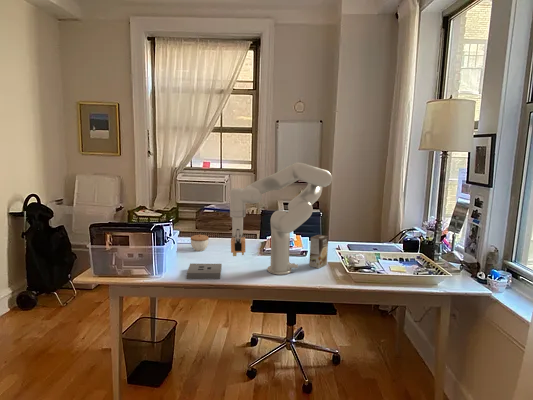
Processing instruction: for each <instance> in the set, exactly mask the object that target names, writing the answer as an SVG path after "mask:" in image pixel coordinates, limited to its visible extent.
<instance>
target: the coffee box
mask: <svg viewBox="0 0 533 400" xmlns="http://www.w3.org/2000/svg"><path fill="white" fill-rule="evenodd" d="M328 247H329V235H323V234H317V235H313V236H311V237H310V247H309V267H311V268H314V269H315V268H317V269H320V268H322V267H325V266H327V264H328V252H329V251H328V250H329V248H328Z"/></svg>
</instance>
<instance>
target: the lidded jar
mask: <svg viewBox="0 0 533 400" xmlns="http://www.w3.org/2000/svg"><path fill="white" fill-rule="evenodd" d="M190 244H191V245H190V246H191V247H192V249H194V251H196V252H202V251H205V250H206V249H207V247H208V245H209V236H208V235H205V234H195V235H191V236H190Z"/></svg>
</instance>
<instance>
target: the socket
mask: <svg viewBox="0 0 533 400" xmlns="http://www.w3.org/2000/svg"><path fill="white" fill-rule="evenodd" d="M222 266H223V265H222V263H190V264H189V266H188V268H187V271H186V280H221V274H222V270H223V269H222Z"/></svg>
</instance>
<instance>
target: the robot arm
mask: <svg viewBox="0 0 533 400" xmlns="http://www.w3.org/2000/svg"><path fill="white" fill-rule="evenodd" d="M298 181H300V182H304V183H306V184H307V185H306V187H305V188H304V189H303V190H302V191H301V192H299V194H298V195H296V196H295V197H293V199H291V200H290V201H289V202H288V204H287V205H288V206H287V209H288V211H285V210H276V211H274V212H273V213H272V215H271V217H270V231H271V235H270V237H271V240H270V265H269V266H268V267H267V268H266V269H267V272H269V274H273V275H281V276H283V275H289V274H291V273H292V270H293V269H298V268H299V265H298V264H297V263H295V262H293V263H292V262H290V246H291V245H290V243H291V242H290V241H291V235H290V234H291V233H293V232H294V231H296V230H297V229H298V228H299V227H301V226H302V225H303V224H304V223H305V222H306V221H307V220H309V218H310V217H311V216H312V214H313V211H314V209H313V205H314V203H316V202H317V201H318V199H320V197H321V196H322V192H323V188H326V187H328V186H330V185H331V184H332V182H333V175H332V173H330V171H329V170H327V169H323V168H320V167H317V166H313V165H311V164H307V163H305V162H304V163H303V162H294V163H292V164H290V165H288V166H285V167H284V168H282V169H281V170H279V171H277V172H275V173H273V174H270V175H267V176H265V177H263V178H260V179H257V180H256V181H254V182H252V183H250V184H247V186H245V187H244V188H241V187H235V188H231V189H230V190H229V213H230V214H229V217H230V218H231V221H232V222H231V227H232V229H231V233H232V235H231V236H232V237H231V238H235V251H242V245H241V237H243V232H244V231H243V230H244V218H245V217H246V213H247V212H246V204H258V203H259V202H261V201H262V199H263V194H265V193H267V192H272V191H280V190H283V189H285V188H286V187H288V186H290V185H292V184H293V183H295V182H298ZM236 238H237V239H236ZM239 238H240V239H239Z"/></svg>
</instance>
